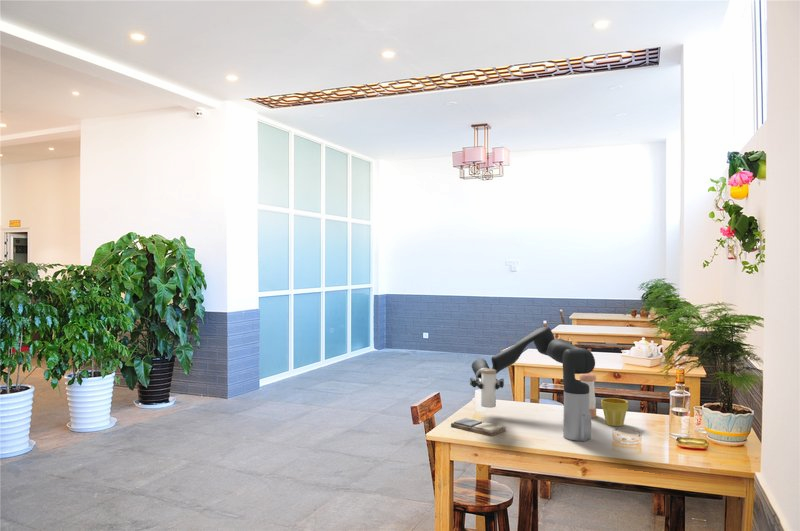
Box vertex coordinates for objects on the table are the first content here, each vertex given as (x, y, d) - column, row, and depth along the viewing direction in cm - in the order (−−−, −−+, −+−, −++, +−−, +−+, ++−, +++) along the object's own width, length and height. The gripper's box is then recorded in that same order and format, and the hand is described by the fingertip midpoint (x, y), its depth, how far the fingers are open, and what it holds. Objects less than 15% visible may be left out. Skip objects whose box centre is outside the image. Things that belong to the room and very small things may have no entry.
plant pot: (601, 420, 244) (601, 396, 244) (627, 422, 240) (627, 398, 240) (601, 426, 234) (601, 402, 234) (628, 429, 230) (628, 404, 230)
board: (505, 430, 227) (505, 425, 227) (491, 436, 219) (491, 431, 219) (465, 421, 239) (465, 417, 239) (450, 426, 232) (451, 422, 232)
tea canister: (498, 405, 227) (499, 370, 227) (490, 408, 222) (491, 372, 222) (486, 403, 231) (486, 368, 230) (478, 405, 226) (478, 370, 226)
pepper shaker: (594, 413, 254) (594, 369, 254) (598, 418, 247) (598, 373, 247) (577, 413, 255) (577, 369, 255) (580, 417, 247) (580, 372, 247)
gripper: (502, 387, 240) (507, 396, 223) (467, 386, 241) (470, 396, 224) (502, 369, 240) (508, 377, 223) (468, 368, 241) (470, 376, 224)
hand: (489, 386), depth 224 cm, fingers closed on tea canister, 5 cm apart
